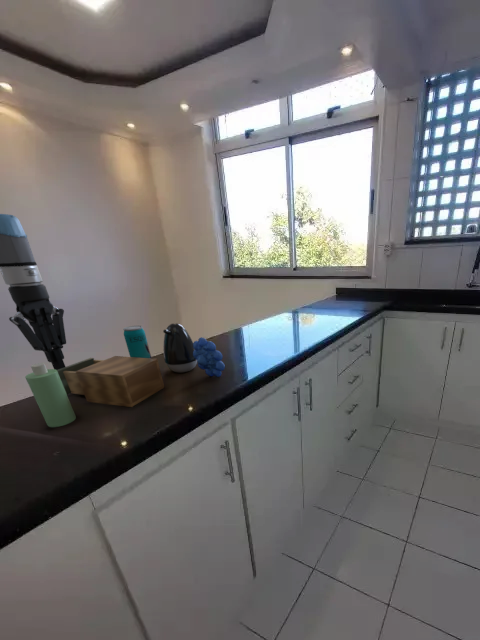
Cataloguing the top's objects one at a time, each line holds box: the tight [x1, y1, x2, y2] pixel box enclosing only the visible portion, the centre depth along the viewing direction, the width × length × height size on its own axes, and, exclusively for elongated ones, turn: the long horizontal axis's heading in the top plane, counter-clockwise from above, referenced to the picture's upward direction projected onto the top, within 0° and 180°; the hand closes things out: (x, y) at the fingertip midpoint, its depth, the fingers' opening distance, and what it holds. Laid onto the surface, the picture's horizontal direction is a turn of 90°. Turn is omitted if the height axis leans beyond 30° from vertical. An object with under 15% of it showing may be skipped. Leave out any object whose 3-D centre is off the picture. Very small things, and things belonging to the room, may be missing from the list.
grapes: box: [193, 337, 226, 378], centre depth 92 cm, size 12×7×12 cm, turn 61°
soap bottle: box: [24, 362, 77, 428], centre depth 70 cm, size 6×6×14 cm
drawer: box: [57, 357, 103, 396], centre depth 87 cm, size 18×11×7 cm, turn 73°
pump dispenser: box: [162, 322, 198, 374], centre depth 98 cm, size 10×10×15 cm
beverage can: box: [123, 325, 153, 359], centre depth 96 cm, size 6×6×15 cm
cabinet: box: [76, 355, 165, 408], centre depth 83 cm, size 15×13×9 cm
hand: (61, 371), depth 89 cm, fingers closed
